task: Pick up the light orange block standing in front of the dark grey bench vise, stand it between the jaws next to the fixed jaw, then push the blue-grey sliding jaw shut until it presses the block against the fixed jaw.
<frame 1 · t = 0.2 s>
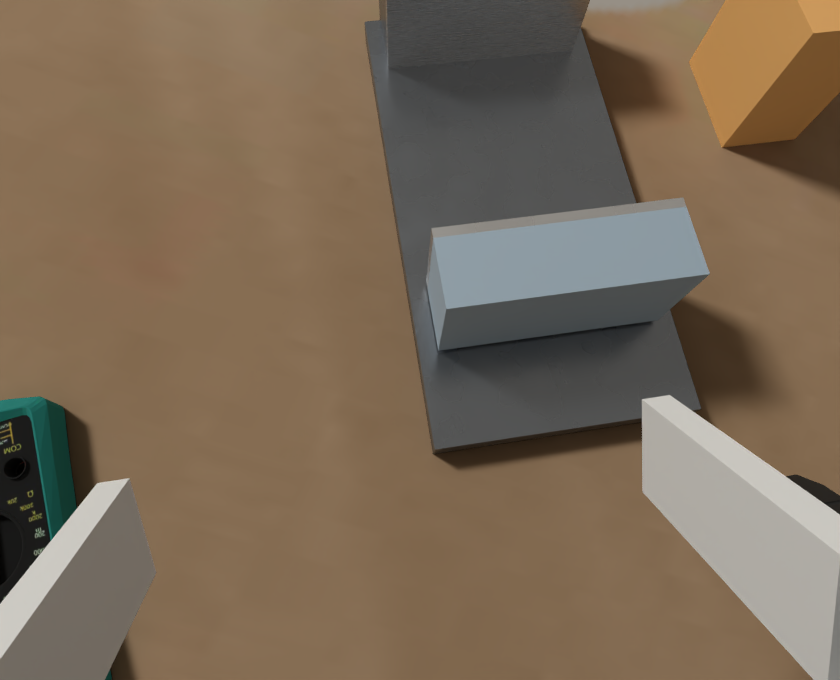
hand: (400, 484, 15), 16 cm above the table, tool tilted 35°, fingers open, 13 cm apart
digital multimeter: (18, 561, 29), on the table
vise base: (509, 207, 36), on the table
sliding jaw: (554, 278, 30), point 5 cm above the table, slide at 0.0 cm
light orange block: (740, 99, 40), on the table
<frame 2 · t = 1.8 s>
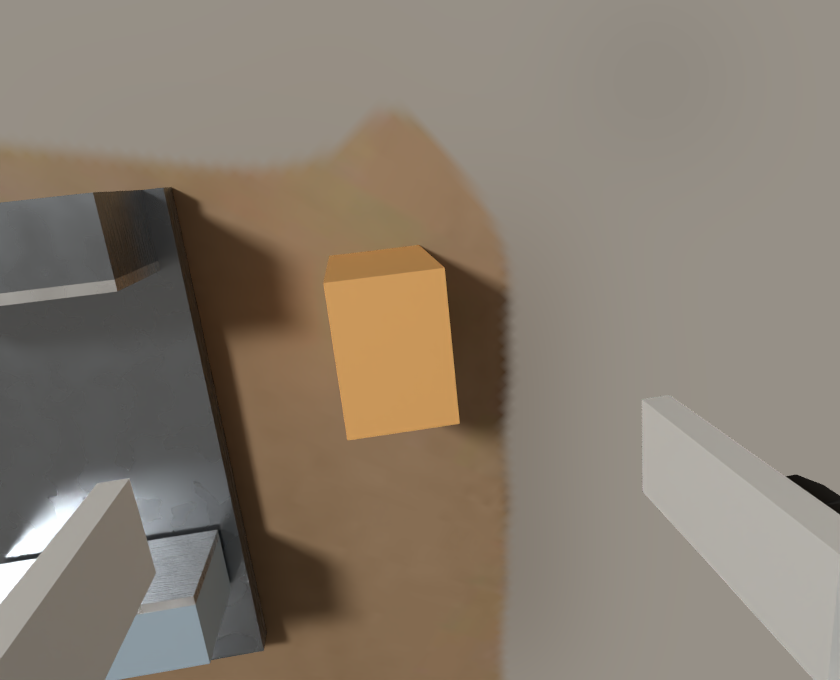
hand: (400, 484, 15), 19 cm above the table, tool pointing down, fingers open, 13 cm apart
vise base: (100, 452, 34), on the table
sliding jaw: (98, 611, 32), point 5 cm above the table, slide at 0.0 cm
light orange block: (382, 311, 34), on the table
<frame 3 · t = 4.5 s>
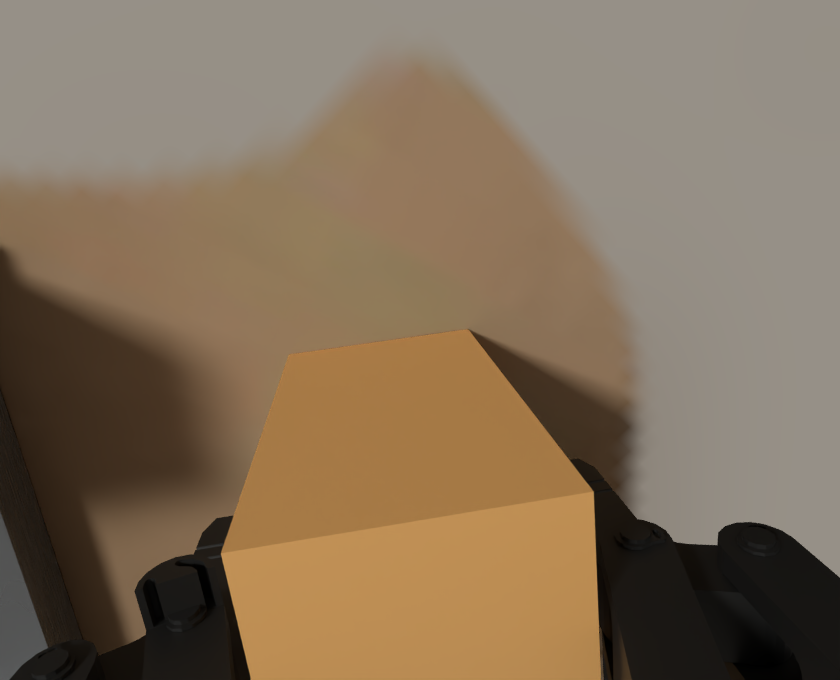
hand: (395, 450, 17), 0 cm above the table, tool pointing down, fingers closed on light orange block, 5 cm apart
light orange block: (395, 455, 18), on the table, touching gripper
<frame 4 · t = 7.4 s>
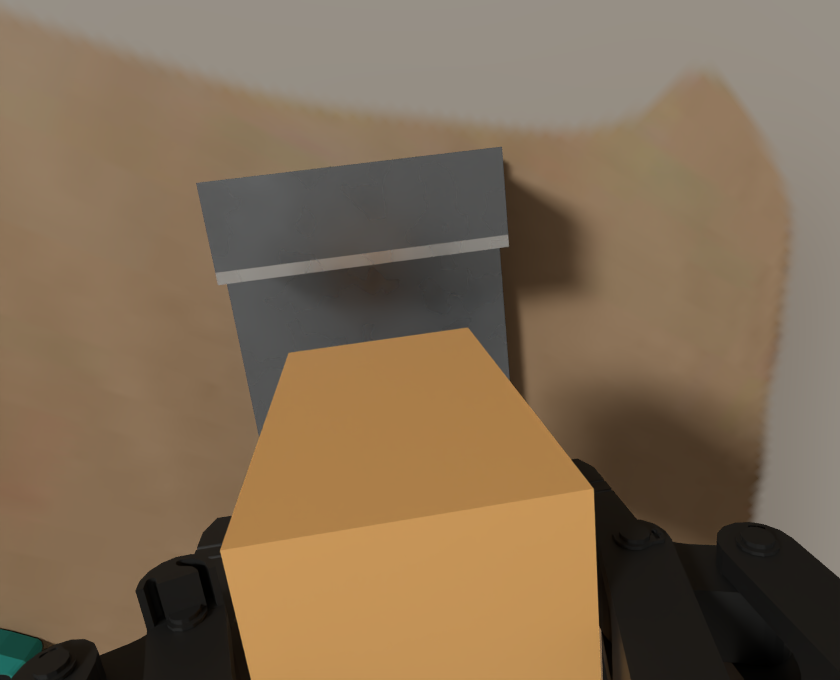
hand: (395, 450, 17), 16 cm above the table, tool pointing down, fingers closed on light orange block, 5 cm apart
vise base: (386, 416, 35), on the table
light orange block: (395, 454, 17), point 16 cm above the table, touching gripper
when the fingers open (3 cm above the table, at t = 10.1 s): light orange block stays where it is, resting on vise base.
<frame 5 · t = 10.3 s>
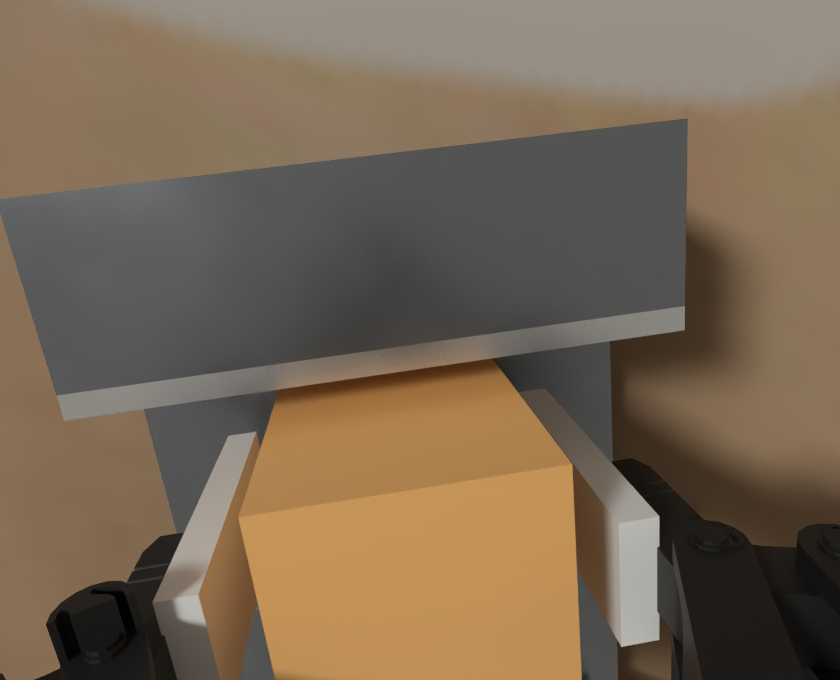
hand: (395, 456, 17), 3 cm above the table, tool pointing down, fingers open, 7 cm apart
vise base: (410, 565, 21), on the table
light orange block: (394, 440, 18), point 1 cm above the table, touching vise base
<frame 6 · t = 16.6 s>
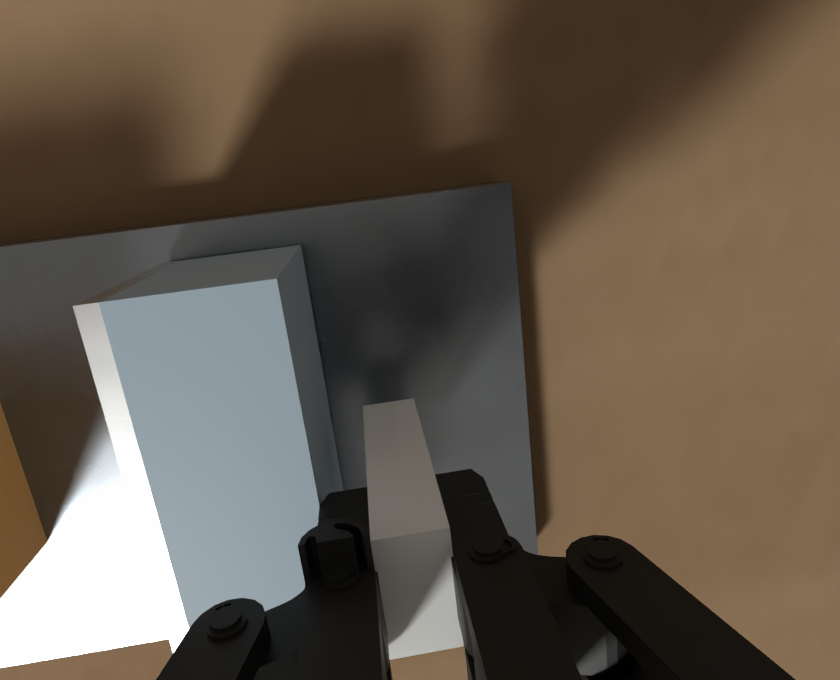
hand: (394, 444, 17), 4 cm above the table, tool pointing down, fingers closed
vise base: (114, 442, 20), on the table
sliding jaw: (256, 486, 16), point 5 cm above the table, slide at 1.5 cm, touching gripper
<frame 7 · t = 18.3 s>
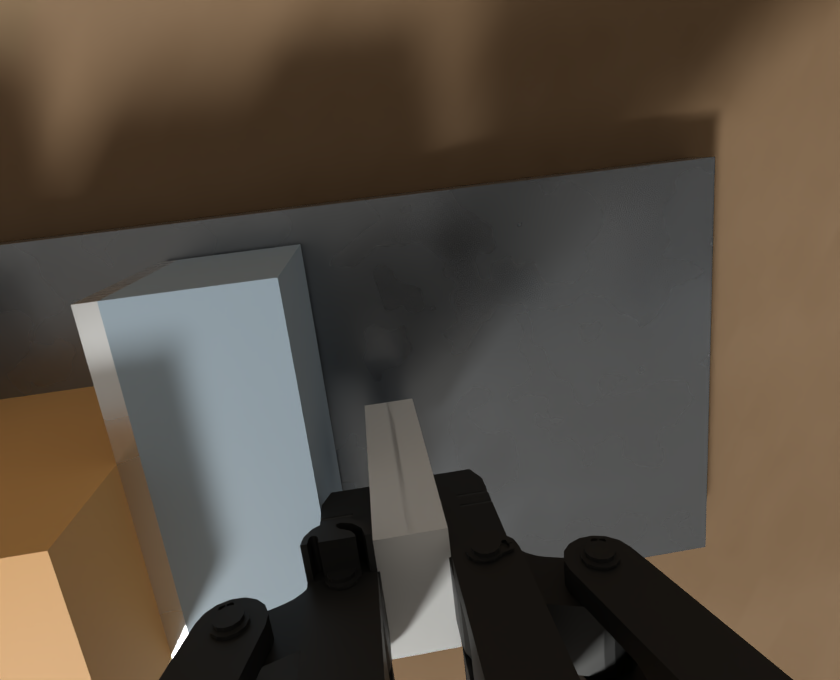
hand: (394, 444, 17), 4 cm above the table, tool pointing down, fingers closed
vise base: (300, 415, 21), on the table
sliding jaw: (255, 487, 16), point 5 cm above the table, slide at 7.8 cm, touching gripper, light orange block
light orange block: (94, 463, 19), point 1 cm above the table, touching sliding jaw, vise base
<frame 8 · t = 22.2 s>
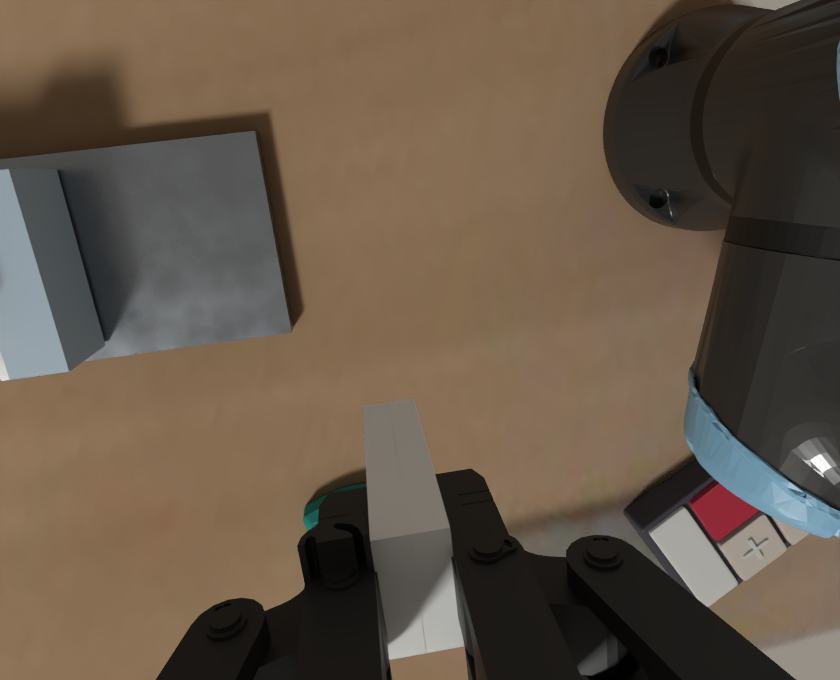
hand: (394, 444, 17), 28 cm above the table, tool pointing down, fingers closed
digital multimeter: (369, 557, 52), on the table
vise base: (76, 259, 42), on the table
sliding jaw: (29, 271, 37), point 5 cm above the table, slide at 7.9 cm
calculator: (716, 499, 54), on the table
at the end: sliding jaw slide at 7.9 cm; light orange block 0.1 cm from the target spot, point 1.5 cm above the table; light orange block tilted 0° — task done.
